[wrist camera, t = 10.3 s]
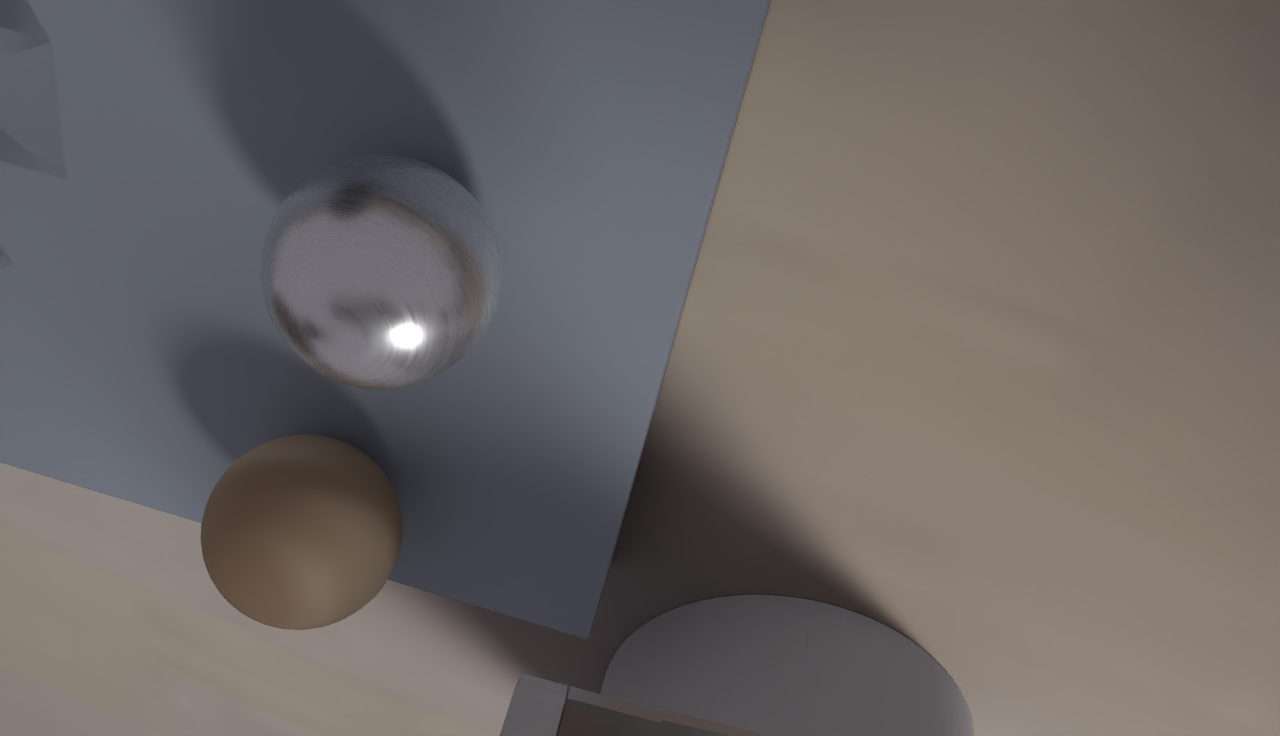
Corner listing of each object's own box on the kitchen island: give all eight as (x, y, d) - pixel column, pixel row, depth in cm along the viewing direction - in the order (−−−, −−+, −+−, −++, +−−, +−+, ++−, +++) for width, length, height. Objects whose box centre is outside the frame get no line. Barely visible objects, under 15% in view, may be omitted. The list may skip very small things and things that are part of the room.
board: (868, -344, 13) (862, -335, 11) (610, 565, 23) (587, 640, 21) (-685, -759, 14) (-895, -806, 12) (-301, 292, 23) (-390, 344, 22)
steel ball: (545, 153, 15) (472, 265, 13) (513, 335, 17) (444, 465, 15) (327, 89, 15) (210, 188, 13) (318, 278, 17) (216, 397, 15)
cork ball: (438, 427, 19) (363, 561, 16) (421, 556, 21) (352, 693, 18) (258, 374, 19) (155, 498, 16) (257, 507, 21) (166, 636, 18)
